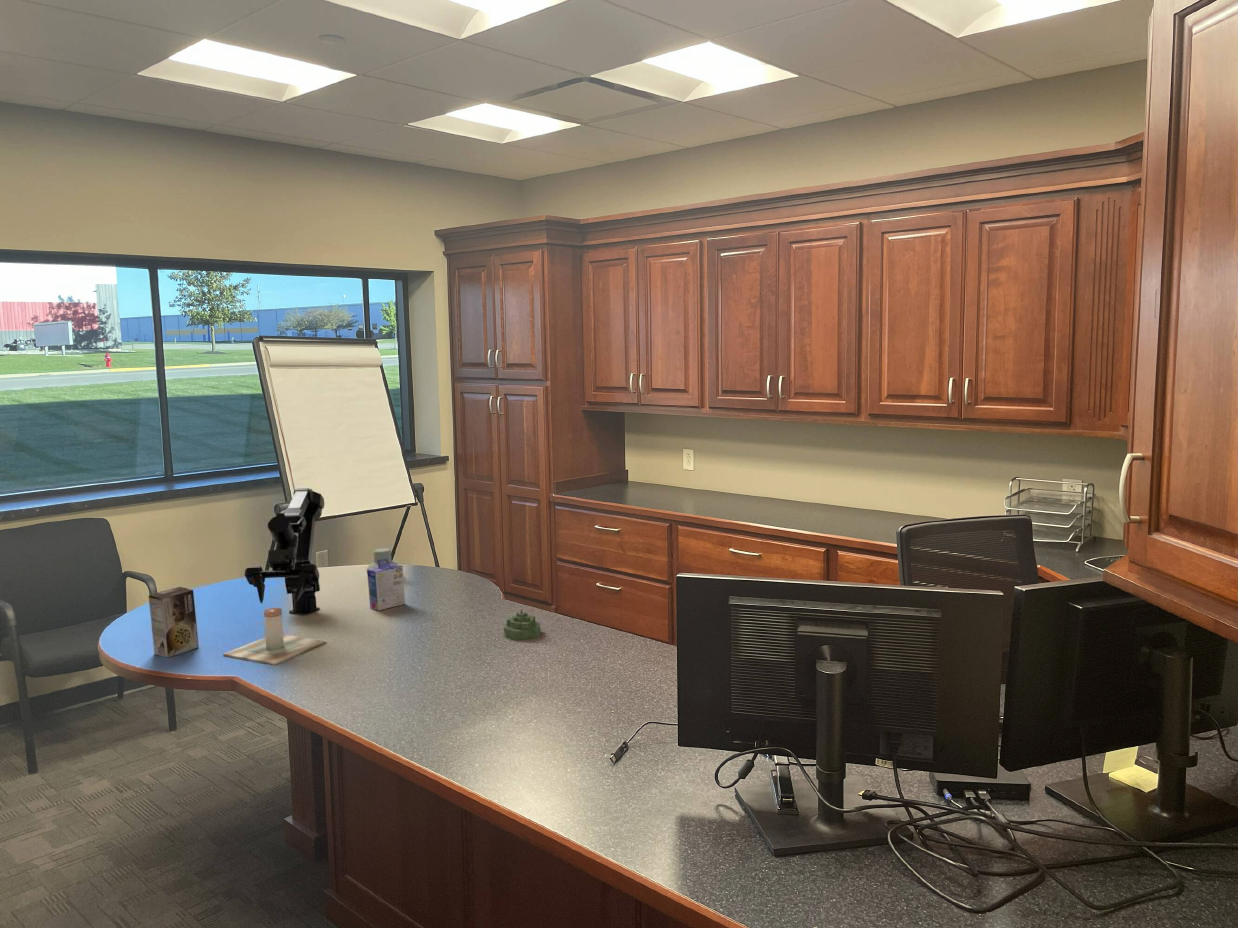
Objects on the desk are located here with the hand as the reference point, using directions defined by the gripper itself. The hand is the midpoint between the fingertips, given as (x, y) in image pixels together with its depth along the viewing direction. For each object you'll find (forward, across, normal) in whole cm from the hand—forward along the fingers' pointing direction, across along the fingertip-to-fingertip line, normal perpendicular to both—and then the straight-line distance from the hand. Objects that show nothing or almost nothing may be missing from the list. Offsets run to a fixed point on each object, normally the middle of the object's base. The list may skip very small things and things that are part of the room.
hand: (278, 601), depth 243 cm
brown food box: (+10, -26, +6) cm, 29 cm away
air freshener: (-36, +19, +53) cm, 67 cm away
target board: (+13, 0, +3) cm, 13 cm away
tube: (+12, 0, +3) cm, 12 cm away
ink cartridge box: (-12, +24, +28) cm, 39 cm away
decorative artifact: (+12, +65, +4) cm, 66 cm away
